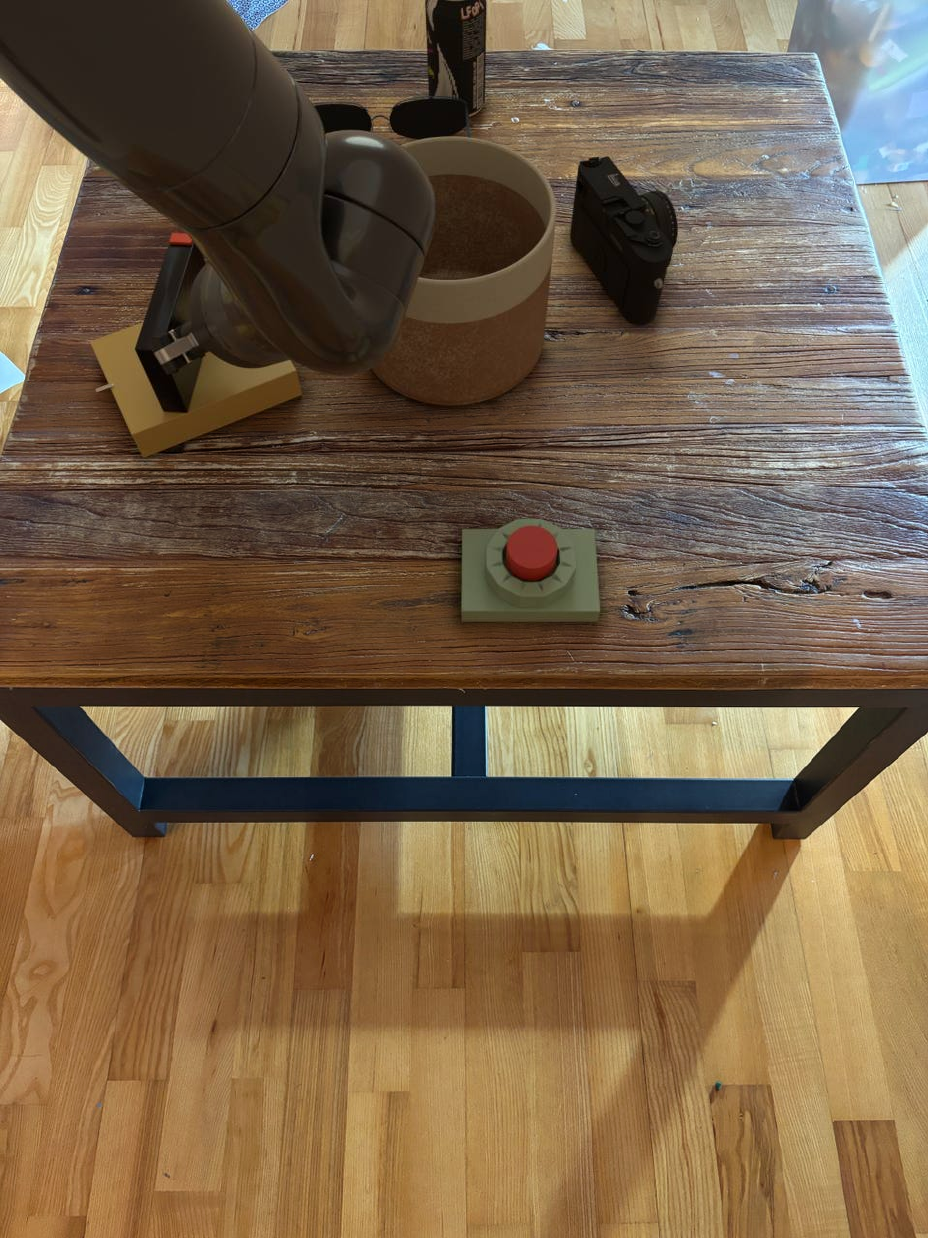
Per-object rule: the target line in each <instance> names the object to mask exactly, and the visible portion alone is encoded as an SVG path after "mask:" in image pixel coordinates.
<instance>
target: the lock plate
mask: <svg viewBox="0 0 928 1238" xmlns="http://www.w3.org/2000/svg"><path fill="white" fill-rule="evenodd" d="M143 322H144V321H142V322H139V323H137V324H135V325H131V326H129V327H126V328H124V329H120V330H117V331H116V332H113V333H109V334H107V335H104V336H101V337H99V338H97V339H93V340H90V341H89V344H90V346H91V348H92V351H93V352H94V353H93V354H94V355H95V357H96V359H97V361H98V364H99V366H100V368H101V371H102V373H103V375H104V377H105V379H106V381H107V384H105V385H103V386H99V387H97V388H95V393H96V394H100V393H102V392H105V391H107V390H111V393H112V395H113V397H114V400H115V401H116V404H117V406H118V408H119V411H120V413H121V415H122V417H123V419H124V421H125V424H126V426H127V428H128V430H129V433H130V435H131V437H132V439H133V441H134V443H135V444H136V447H137V448H138V450H139V452H140V454H141V456H142V458H143V459H144V458H147V457H149V456H150V457H151V456H152V455H155V454H157V453H160V452H162V451H165V450H167V449H171V448H173V447H175V446H177V445H180V444H183V443H185V442H188V441H190V440H193V439H195V438H197V437H200V436H202V435H205V434H208V433H210V432H212V431H216V430H218V429H220V428H223V427H225V426H228V425H230V424H232V423H235V422H237V421H241V420H242V419H245V418H247V417H250V416H254V415H255V414H258V413H260V412H262V411H266V410H268V409H270V408H273V407H276V406H278V405H280V404H283V403H286V402H288V401H290V400H293V399H295V398H298V397H300V396H302V395H303V392H302V388H301V383H300V380H299V379H300V378H299V376H298V372H297V369H296V368H295V366H294V364H293V362H292V359H291V360H288V361H284V362H281V363H277V364H274V365H270V366H267V367H263V368H256V369H249V368H241V367H237V366H234V365H231V364H229V363H227V362H225V361H223V360H221V359H219V358H218V357H216V356H215V355H213V354H212V353H211V352H207V353H205V355H206V356H204V357H203V359H202V362H201V366H200V369H199V373H198V377H197V380H196V384H195V387H194V391H193V394H192V398H191V402H190V405H189V409H188V412H187V413H178V412H164V411H163V410H162V408H161V406H160V403H159V401H158V399H157V397H156V395H155V392H154V390H153V388H152V386H151V384H150V382H149V379H148V377H147V375H146V373H145V371H144V368H143V366H142V364H141V362H140V360H139V357H138V355H137V353H136V351H135V346H136V343H137V340H138V337H139V334H140V331H141V328H142V325H143Z"/></svg>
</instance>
